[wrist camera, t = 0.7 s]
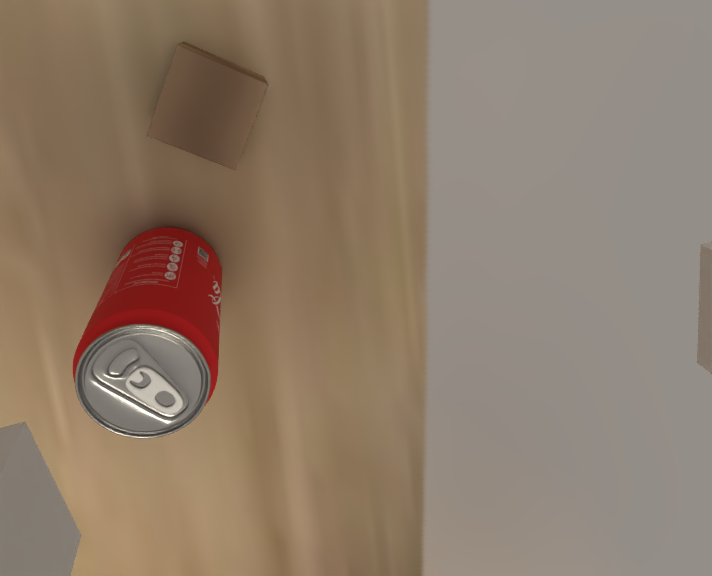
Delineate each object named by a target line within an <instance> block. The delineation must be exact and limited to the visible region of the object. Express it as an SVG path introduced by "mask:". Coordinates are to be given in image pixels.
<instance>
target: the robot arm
mask: <svg viewBox="0 0 712 576" xmlns="http://www.w3.org/2000/svg"><path fill="white" fill-rule="evenodd" d="M697 363H698V364H699V365H701V366H702V367H704V368H705V369H706V370H707V371H709V372H710V373H711V374H712V242H708V243H704V244H701V253H700V285H699V317H698V350H697ZM80 538H81V534H80V532H79V530H78V528H77V526H76V524H75V522H74V519H73V517H72V515H71V513H70V511H69V509H68V507H67V505H66V503H65V501H64V499H63V497H62V495H61V493H60V491H59V489H58V487H57V485H56V483H55V481H54V479H53V477H52V475H51V473H50V471H49V469H48V467H47V465H46V462H45V460H44V458H43V456H42V454H41V452H40V450H39V448H38V446H37V444H36V442H35V440H34V438H33V436H32V434H31V432H30V430H29V428H28V426H27V424H26V422H22V423H18V424H14V425H10V426H7V427H3V428H0V576H70V575H71V572H72V568H73V564H74V560H75V557H76V553H77V549H78V545H79V542H80Z"/></svg>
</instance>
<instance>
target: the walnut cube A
mask: <svg viewBox="0 0 712 576" xmlns="http://www.w3.org/2000/svg"><path fill="white" fill-rule="evenodd" d="M267 87H268V83H267V81H266V79H265V78H264V77H263V76H260V75H258V74H256V73H254V72H251V71H249V70H247V69H244V68H242V67H240V66H238V65H235V64H233V63H231V62H228V61H226V60H224V59H222V58H219V57H217V56H215V55H213V54H210V53H208V52H206V51H203V50H201V49H199V48H197V47H194V46H192V45H190V44H188V43H185V42H182V43H180V44H178V45H177V47H176V50H175V53H174V56H173V59H172V62H171V65H170V68H169V71H168V74H167V77H166V80H165V83H164V86H163V89H162V92H161V95H160V98H159V101H158V104H157V107H156V110H155V113H154V116H153V119H152V122H151V125H150V128H149V131H148V134H147V136H149V137H151V138H154V139H157V140H159V141H162V142H164V143H167V144H169V145H172V146H175V147H177V148H180V149H182V150H185V151H187V152H190V153H192V154H195V155H198V156H200V157H203V158H205V159H208V160H210V161H213V162H216V163H218V164H221V165H223V166H226V167H228V168H231V169H234V170H236V168H237V166H238V163H239V161H240V158H241V155H242V153H243V150H244V147H245V145H246V142H247V139H248V137H249V134H250V132H251V129H252V126H253V124H254V121H255V118H256V116H257V113H258V111H259V108H260V105H261V103H262V100H263V97H264V95H265V92H266V90H267Z"/></svg>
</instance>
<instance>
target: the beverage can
mask: <svg viewBox="0 0 712 576" xmlns="http://www.w3.org/2000/svg"><path fill="white" fill-rule="evenodd" d="M221 284H222V268H221V265H220V263H219V260H218V258H217V256H216V254H215V253H214V251H213V250H212V248H211V247H210V246H209V245H208V244H207V243H206V242H205V241H204V240H203V239H201V238H200V237H198V236H197V235H195V234H193V233H191V232H189V231H186V230H182V229H178V228H169V227H166V228H156V229H152V230H149V231H146V232H144V233H142V234H140V235H138V236H137V237H135V238H134V239H133V240H132V241H130V242H129V243H128V245H127V246H126V247H125V248H124V250H123V251H122V253H121V255H120V257H119V259H118V262H117V264H116V266H115V268H114V270H113V272H112V274H111V276H110V279H109V281H108V283H107V285H106V287H105V289H104V291H103V293H102V296H101V298H100V300H99V302H98V304H97V306H96V308H95V310H94V313H93V315H92V317H91V319H90V321H89V323H88V325H87V327H86V330H85V332H84V334H83V336H82V338H81V340H80V342H79V345H78V347H77V349H76V352H75V356H74V360H73V377H74V382H75V388H76V393H77V396H78V399H79V401H80V403H81V405H82V407H83V408H84V410H85V411H86V413H87V414H88V415H89V416H90V417H91V418H92V419H93V420H94V421H95V422H96V423H98V424H99V425H100V426H102V427H104V428H105V429H107V430H109V431H111V432H113V433H116V434H119V435H122V436H126V437H131V438H156V437H162V436H165V435H169V434H171V433H174V432H176V431H178V430H180V429H182V428H184V427H185V426H187V425H188V424H189V423H190V422H192V421H193V420H194V419H195V418H196V417H197V416H198V415H199V413H200V412H201V411H202V409H203V407H204V406H205V405H206V403H207V402H208V401H209V399H210V397H211V396H212V394H213V391H214V389H215V386H216V382H217V376H218V357H219V332H220V308H221Z"/></svg>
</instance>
